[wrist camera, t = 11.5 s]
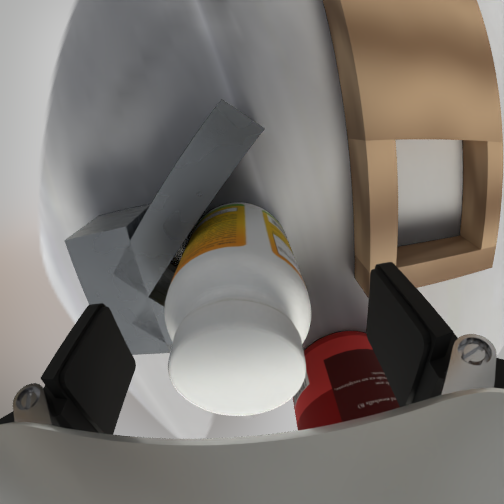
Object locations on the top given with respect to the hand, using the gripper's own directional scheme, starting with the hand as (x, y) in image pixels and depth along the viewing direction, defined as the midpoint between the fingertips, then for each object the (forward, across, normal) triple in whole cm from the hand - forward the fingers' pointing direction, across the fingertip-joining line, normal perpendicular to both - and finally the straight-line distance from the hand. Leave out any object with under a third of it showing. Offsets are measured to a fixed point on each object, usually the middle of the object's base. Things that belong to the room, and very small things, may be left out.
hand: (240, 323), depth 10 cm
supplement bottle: (+8, 0, 0) cm, 8 cm away
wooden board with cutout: (+7, -12, -6) cm, 15 cm away
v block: (+7, +3, 0) cm, 8 cm away
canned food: (+7, -6, +11) cm, 15 cm away
